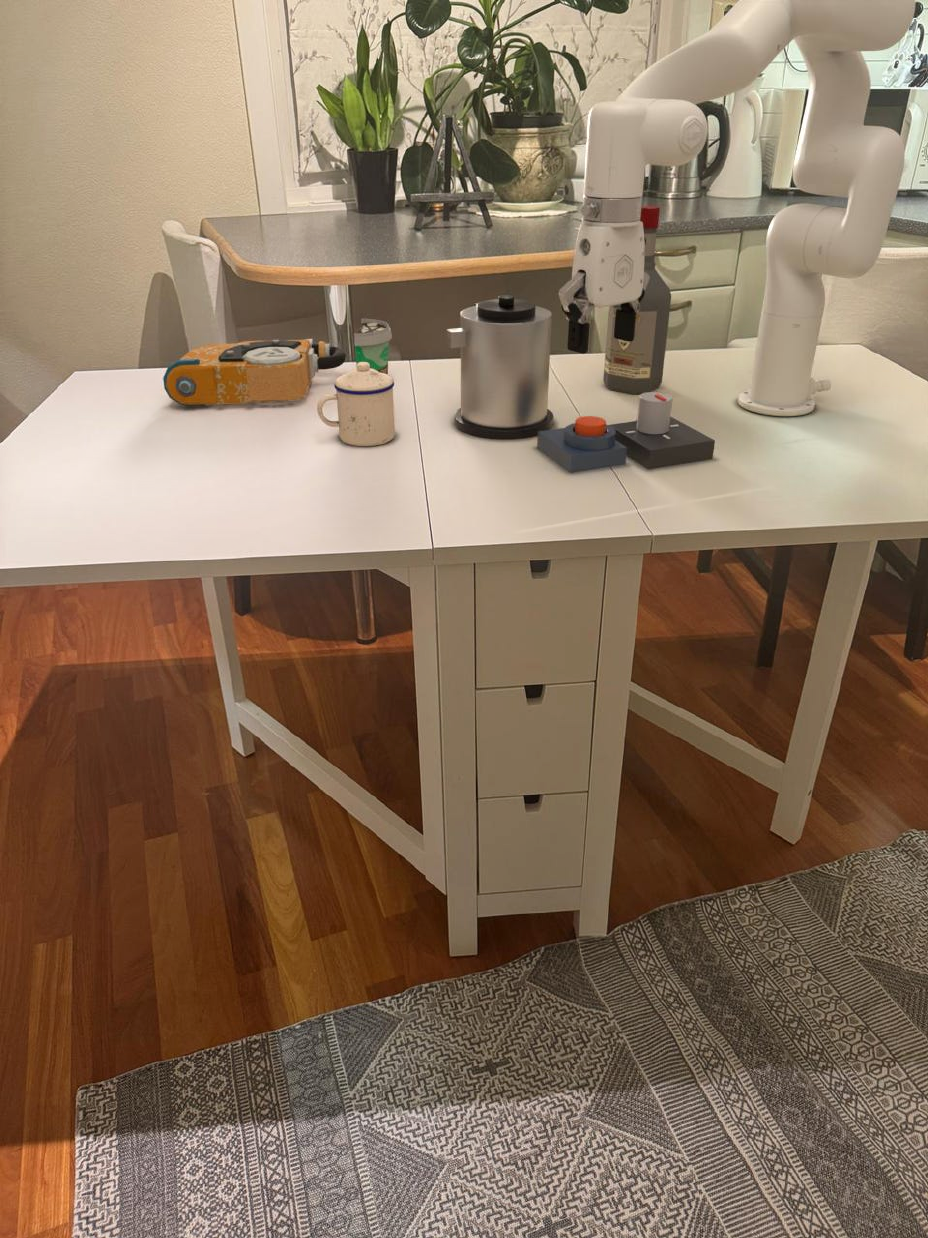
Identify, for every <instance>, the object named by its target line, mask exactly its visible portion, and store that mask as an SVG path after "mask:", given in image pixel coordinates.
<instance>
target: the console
mask: <svg viewBox="0 0 928 1238" xmlns="http://www.w3.org/2000/svg"><path fill="white" fill-rule="evenodd" d="M608 425H609V426H611V427H612V428H614V429H615V440H616V441H618V442H619V443H621V444H622V445H624V446H625V447H627V452H626V457H628V458H629V459H631V460H633V461H634V462H635V463H637V464H639V465H641V466H642V467H644V468H645V469H646V470H654V469H655V470H656V469H661V468H668V467H673V466H680V465H687V464H692V463H697V462H704V461H705V462H706V461H709V460H714V459H713V458H714V451H715V444H716V440H715V439H713V438H712V437H709V436H708V435H705V434H704V433H702V432H700V431H698V430H697V429H695V428H693V427H691V426H690V425H687V424H685V423H684V422H682V421H680V420H679V419H676V418H674V416H673V417H672V416H671V415H670V424H669V431H668V432H667V433H664V434H656V435H654V434H646V433H642V432H640V431H638V430H637V428H636V427H637V419H635V420H633V421H626V422H619V423H611V424H608Z"/></svg>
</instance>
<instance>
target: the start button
mask: <svg viewBox="0 0 928 1238" xmlns="http://www.w3.org/2000/svg"><path fill="white" fill-rule="evenodd" d="M574 423H575V433H576V434H579V435H583V436H600V435H604V434H605V429H606V425H607V421H606V419H604V418H602V417H600V416H593V415H583V416H579V417H577V418H576V419H575V421H574Z"/></svg>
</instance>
